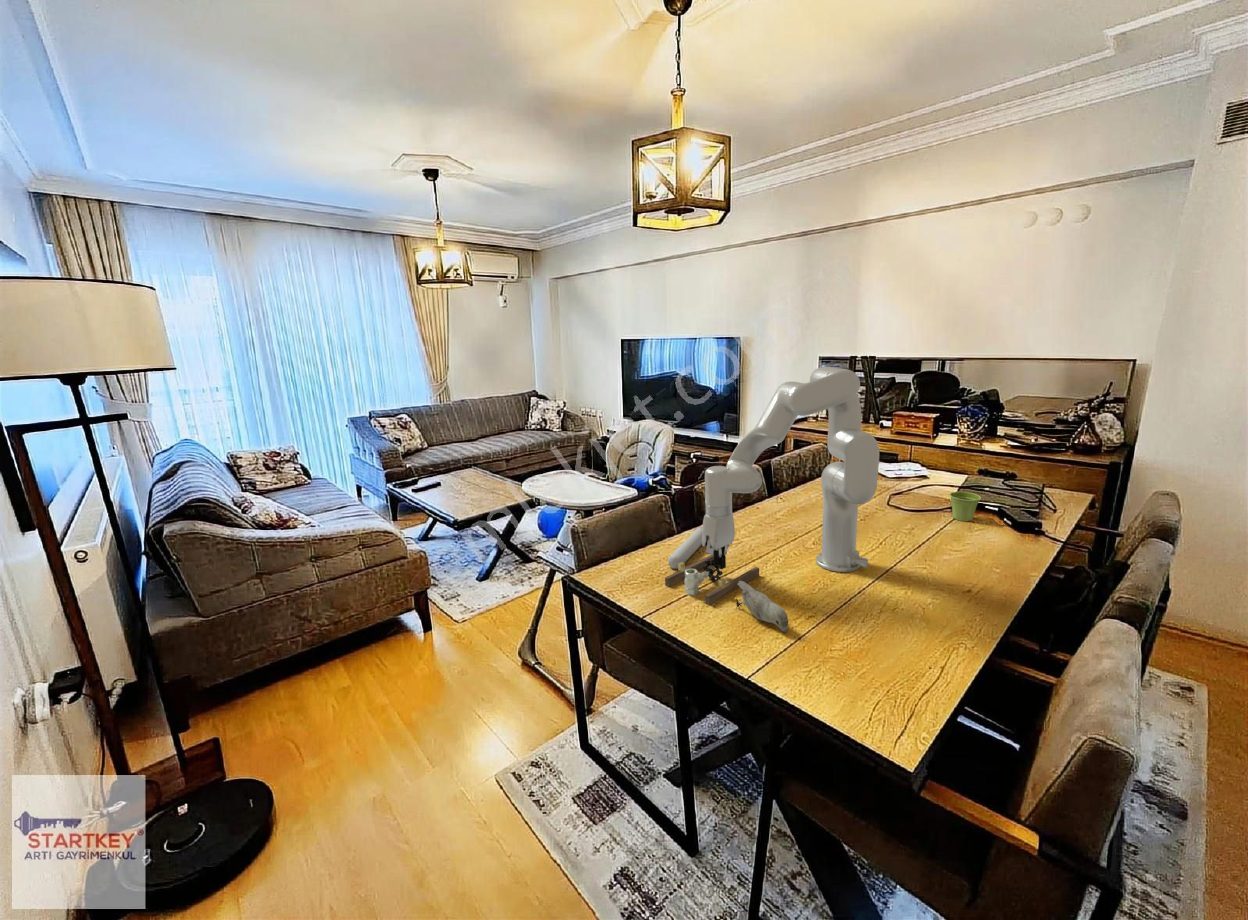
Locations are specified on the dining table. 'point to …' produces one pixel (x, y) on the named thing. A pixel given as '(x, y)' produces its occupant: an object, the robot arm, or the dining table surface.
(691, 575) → the valve
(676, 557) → the tube
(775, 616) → the decorative bird
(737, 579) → the guide track
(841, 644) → the dining table surface
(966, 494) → the plant pot
